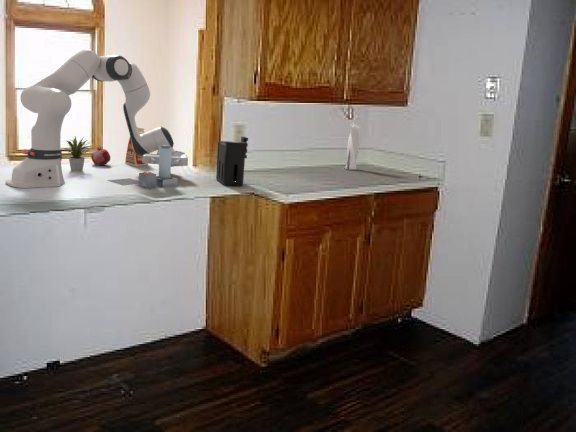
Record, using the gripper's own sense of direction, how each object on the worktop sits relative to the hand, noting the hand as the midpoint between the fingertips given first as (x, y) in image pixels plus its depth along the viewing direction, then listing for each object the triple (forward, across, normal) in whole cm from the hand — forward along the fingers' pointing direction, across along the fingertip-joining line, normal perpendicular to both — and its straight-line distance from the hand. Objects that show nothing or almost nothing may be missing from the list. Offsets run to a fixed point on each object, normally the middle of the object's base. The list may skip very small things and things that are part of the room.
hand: (164, 162), depth 262 cm
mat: (+4, -16, +10) cm, 19 cm away
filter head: (+8, -3, +10) cm, 13 cm away
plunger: (+12, -7, +5) cm, 14 cm away
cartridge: (+6, 0, +9) cm, 10 cm away
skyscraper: (-77, +108, +9) cm, 133 cm away
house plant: (-21, -41, +10) cm, 47 cm away
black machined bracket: (-12, +31, +10) cm, 35 cm away
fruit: (-43, -32, +10) cm, 54 cm away
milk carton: (-52, -15, +10) cm, 55 cm away
